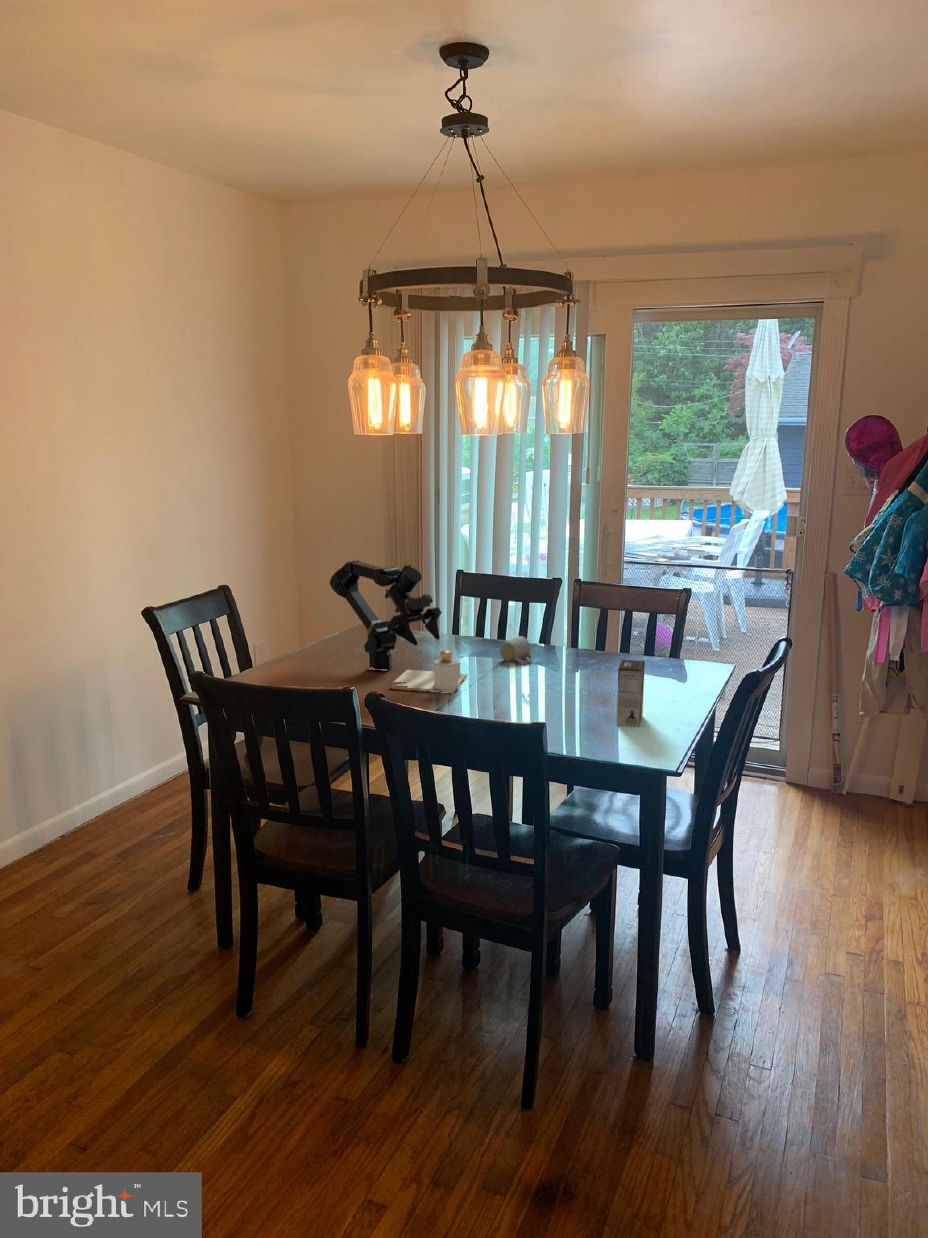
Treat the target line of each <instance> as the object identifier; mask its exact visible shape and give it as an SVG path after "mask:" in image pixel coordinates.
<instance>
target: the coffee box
mask: <svg viewBox="0 0 928 1238" xmlns="http://www.w3.org/2000/svg"><path fill="white" fill-rule="evenodd" d="M645 664H646V660H636V659H635V660H631V659H622V660H621V661H620V664H619V667H618V671H617V672H618V673H617V674H618V675H617V703H616V725H617V726H625V727H637V728H639V727H640V726H641V723H642V718H643V715H644V713H643V711H644V689H645V687H644V684H645V668H646V666H645Z"/></svg>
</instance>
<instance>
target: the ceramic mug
mask: <svg viewBox="0 0 928 1238" xmlns="http://www.w3.org/2000/svg"><path fill="white" fill-rule="evenodd" d="M529 642H530V641H529V640H528V639H527V638H526V637H525V636H521V635H519V636H516V637H513V638H510V639H508V640H505V641H504V642H502V643H501V645H500V647H499V649H500V650H499V651H500V652H499V654H500V655H501V658H502V660H504V661H506V662H511V663H512V661H513V662H515V661H516V662H517V663H519V664H521V665H529V664H531V663H532V660H533V657H532V655H531V651H532V650H531V644H530V643H529ZM527 658H528V659H529V660H526V659H527Z"/></svg>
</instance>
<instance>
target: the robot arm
mask: <svg viewBox="0 0 928 1238" xmlns="http://www.w3.org/2000/svg"><path fill="white" fill-rule="evenodd" d="M361 577H362V578H366V579H370V580H373V582H374V583H375V585H378V586H379V587H381V588H384V587H389V588H388V589H386V590H385V594H384V598H385V599H391V601H392V602H393V604H394V606H395V607H396V608H395V610H394V611H395V613H396V615H393V616H392V618H391V619H390V620H389V621H388V620H385V621H384V620H383V621H381V620H380V619H379V618H378V616H377V615H376V613H375V612H374V610H373V609H372V608H371V606H370V605H369V604H368V602H367V601H366V599H365V598H364V597H363V595H362V593H361V592H360V591H359V582H358V581H359V580H360V578H361ZM421 581H422V574H421V572H420V571H419V570H418V569H416V568H414V567H412V566H411V565H410V564H406V565H404V566H403V567H402V569H401V570H400V568H399V567H398V566H377V565H374V564H371V563H366V562H362V561H360V560H352V561H346V562H345V564H344V565H343V566H342V567H341V568H340V569H338V570H336V571H335V572H334V574H332V576H331V578H330V580H329V585H330V588H331V590H332V591H334V592H335V594H336V595H338V596H340V597H342V598H344V599H346V601H347V602H348V604H349V605H350V607H351V609H352V610H353V611H354V612H355V614H356V616H357V617H358V619H359V620H360V621H361V623H362V624H363V625H364V627H365V628H366V630H367V636H366V637H367V641H366V642H365V643H364V644H363V649H364V652H365V653H368V654H369V655H368V657H369V659H368V660H369V661H368V662H369V667H373V668H375V669H389V668H390V669H391V668H393V655H392V654H391V651H393V650H395V646H396V643H397V636H398V637H400V638H402V639H404V640H406V641H408V642H409V643H410V644H411V645H414V646H415V647H416V646H418V641H417V639H416V637H415V635H414V632H412V630H411V628H410V624H412V623H418V622H422V624H424V627H425V628H426V630H427V631H428V632H429V633H430V635H432V636H433V637H434V639H436V640H437V641H439V640H440V638H441V637H440V633H439V628H438V619H439V618H440V616H441V614H442V613H443V612H442V611H441V609H440V607H437V606H434V607H431V604H432V603H433V602H434V601H433V598H432V596H431V594H430V593H428V592H427V593H424V594H423V595H421V596H419V597H414V596H413V597H412V595H411V594H410V593H412V592H413V591H414V590H415V588H416V587H417V586H418V584H419V583H420V582H421ZM427 607H429V608H427ZM425 608H427V609H426V610H425ZM424 610H425V611H424ZM423 612H424V613H423ZM398 613H399V614H398ZM390 669H389V670H390Z"/></svg>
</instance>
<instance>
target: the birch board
mask: <svg viewBox="0 0 928 1238" xmlns="http://www.w3.org/2000/svg"><path fill="white" fill-rule="evenodd" d="M466 677H467V678H468V673H461V672H460V678H459V679H458V683H459V685H460V684H461V683H462V682H463V683H464V681H465V680H466V679H467V678H466ZM465 678H466V679H465ZM464 679H465V680H464ZM393 682H406V683H401V684H397V685H396V686H408V687H407V688H413V689H420V690H434V691H439V692H448V693H453V692H454V690H456V691H457V689H453V690H439V689H436V688H434V685H433V684H434V683H435V671H431V670H417V669H416V670H415V669H407V670H404V672H403V673H402V674H401V675H400V676H398V677H397V678H396V679H395V680H394V681H393ZM463 683H462V684H463ZM462 684H461V685H462ZM461 685H460V686H461ZM394 686H395V685H394ZM454 693H455V692H454ZM454 693H453V694H454Z"/></svg>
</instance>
